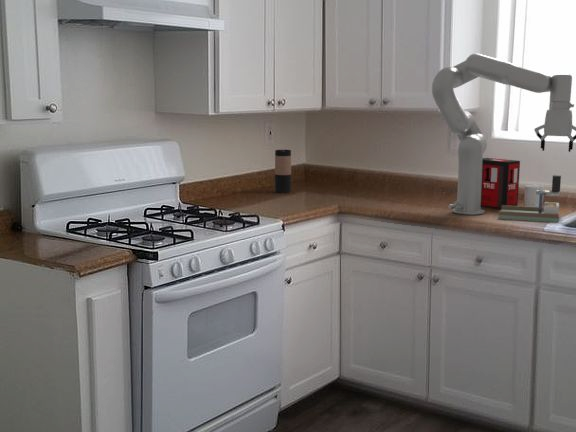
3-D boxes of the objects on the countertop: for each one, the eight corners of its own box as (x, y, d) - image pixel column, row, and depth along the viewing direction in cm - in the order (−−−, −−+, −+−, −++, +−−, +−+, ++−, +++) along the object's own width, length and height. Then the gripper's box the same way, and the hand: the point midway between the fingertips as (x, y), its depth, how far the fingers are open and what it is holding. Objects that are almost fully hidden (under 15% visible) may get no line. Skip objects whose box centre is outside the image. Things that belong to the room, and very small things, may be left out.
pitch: (558, 215, 318) (558, 208, 317) (558, 222, 303) (558, 214, 302) (501, 212, 325) (501, 205, 324) (498, 218, 310) (499, 211, 309)
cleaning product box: (472, 205, 343) (474, 159, 339) (483, 203, 349) (486, 157, 345) (505, 210, 331) (508, 162, 327) (517, 207, 337) (520, 160, 333)
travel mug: (272, 191, 381) (273, 149, 377) (288, 190, 383) (288, 149, 380) (277, 193, 374) (277, 151, 370) (293, 193, 376) (293, 150, 373)
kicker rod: (558, 212, 313) (560, 175, 310) (558, 215, 307) (560, 176, 305) (534, 211, 316) (537, 174, 313) (534, 213, 310) (536, 175, 307)
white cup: (527, 207, 337) (529, 184, 336) (546, 209, 333) (547, 185, 331) (520, 209, 331) (521, 186, 330) (538, 211, 327) (540, 187, 325)
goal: (558, 212, 315) (559, 202, 314) (558, 217, 305) (559, 207, 304) (543, 212, 317) (544, 202, 316) (543, 216, 307) (543, 206, 306)
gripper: (583, 106, 305) (579, 151, 308) (536, 105, 310) (533, 149, 313) (583, 107, 298) (580, 152, 301) (535, 106, 303) (532, 150, 306)
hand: (556, 151), depth 307 cm, fingers open, 9 cm apart
